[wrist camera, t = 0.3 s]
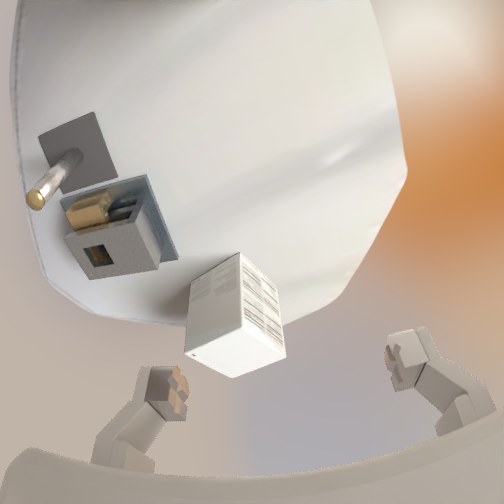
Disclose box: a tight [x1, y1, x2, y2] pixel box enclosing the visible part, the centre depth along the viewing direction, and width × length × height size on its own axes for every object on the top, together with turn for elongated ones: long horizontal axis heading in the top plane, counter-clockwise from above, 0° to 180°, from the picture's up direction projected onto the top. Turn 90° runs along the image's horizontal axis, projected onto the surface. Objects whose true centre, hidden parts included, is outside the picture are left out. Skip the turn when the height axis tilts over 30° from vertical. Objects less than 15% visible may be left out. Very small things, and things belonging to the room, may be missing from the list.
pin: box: [26, 148, 83, 211], centre depth 37 cm, size 3×3×14 cm
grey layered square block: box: [61, 174, 179, 280], centre depth 50 cm, size 18×18×8 cm
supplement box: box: [184, 253, 286, 378], centre depth 58 cm, size 13×13×18 cm
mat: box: [38, 112, 118, 194], centre depth 43 cm, size 12×12×1 cm
